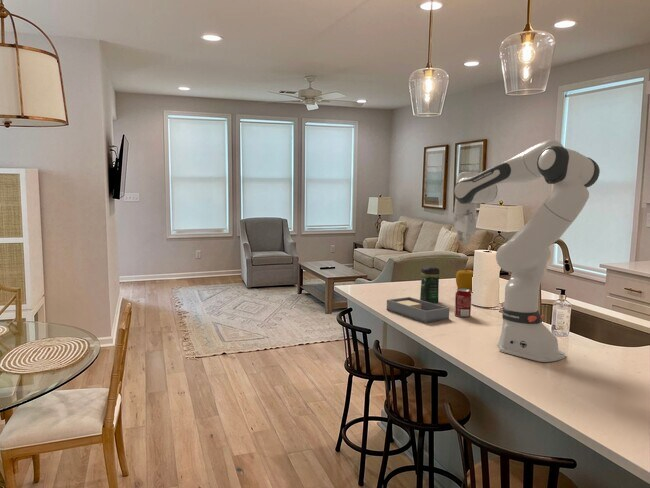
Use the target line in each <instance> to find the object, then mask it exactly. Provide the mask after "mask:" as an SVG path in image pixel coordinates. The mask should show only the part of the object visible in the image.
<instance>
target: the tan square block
mask: <svg viewBox="0 0 650 488" xmlns="http://www.w3.org/2000/svg"><path fill="white" fill-rule="evenodd" d="M398 303H401V304H405V305H408V306H411V307H415V308H418V309H421V304H420V303H416V302H413V301H409V300H406V301H399V302H398Z"/></svg>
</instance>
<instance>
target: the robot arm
mask: <svg viewBox="0 0 650 488" xmlns="http://www.w3.org/2000/svg"><path fill="white" fill-rule="evenodd" d="M600 171H601V169H600V166H599V165H598V163H597V162H596V161H595V160H594V159H592V158H591V157H588V156H585V155H584V154H581V153H580V152H579V151H576V150H573V149H570V148H566V147H564V145H563V144H562V143H561V142H559V140H555V139H548V140H545V141H541V142H538V143H537V144H535V145H532V146H531V147H530V146H529V147H528V148H527V149H525V150H524V151H522V152H520V153H518V154H516V155H514V156H512V157H511V158H509V159H507V160H505V161H503V162H501V163H499V164H497V165H495V166H491V167H490V168H487V169H486V170H484V171H481V172H479V173H478V172H477V171H476V170H467V171H466V170H465V171H462V172H460V173H459V174H458V176H457V179H456V183H455V185H454V187H453V188H454V189H453V195H454V198H455V202H454V207H453V208H452V213H453V229H454V230H455V231H456V232H457V241H458V242H463V244H465V245H469V244H470V240H471V237H472V235H474V234H475V233H476V230H477V229H476V223H477V222H476V219H477V218H476V216H475V215H477V206H478V204H489V203H492V202H493V201H494V200H495V199H496V198H497V195H498V187H497V185H500V184H509V183H511V184H512V183H513V184H514V183H517V184H518V183H519V184H520V183H528V182H531V181H534V180H537V179H539V178H541V177H543V178H544V181H545V182H546V184H548V185H553V186H552V187H553V188H552V191H551V192H550V194H549V196H547V198H546V199H545V200H544V201H543V203H542V204H541V205H540V207H539V208H538V209H537V211H536V212H535V213H534V215H532V217H531V218H530V219H529V221H527V223H526V224H524V225H523V226H522V227H521V228H520V229H519V230H518V231H517V232H516V233H515V234H513V235H512V236H511V238H510V239H508V240H507V241H506V242H505V243H503V244H501V245H500V246H499V247H498V249H497V250H496V252H495V260H496V264H497V265H498V267H500V268H501V269H502V270H504V271H505V272H510V273H511V275H510V277H509V279H508V281H507V283H506V284H505V288H504V302H503V303H504V305H503V307H502V316H501V318H502V327H501V332H500V336H499V339H498V342H497V347H498V348H499V351H500V352H501V353H505V354H509V355H513V356H517V357H520V358H525V359H528V360H532V361H535V362H539V363H540V362H541V363H550V362H557V361H560V360H563V359H565V357H566V353H565V352H564V351H561V350H559V343H558V341H559V340H558V338H557V336H556V335H554V333H552V331H551V330H549V328H547V326H546V325H545V324H544V323H543V321H542V319H545V314H541V313H540V311H539V310H538V308H539V307H538V306H539V296H540V293H539V292H540V286H541V282H542V278H543V275H544V272H545V269H546V266H547V264H548V262H549V261H550V260H551V259H550V258H551V249H550V246H551V245H553V244H554V243H555V242H557V241H558V240H560V238H561V237H562V236H563V235H564V233H565V232H566V231H567V230H568V229H569V228H570V226H571V225H572V224H573V223H574V221H575V220H576V219H577V217H578V216H579V215H580V213H582V210H583V208H584V207H585V206H586V203H587V202H588V200H589V198H590V192H589V190H588V188H590V187H592V186H593V185H594V184H595V183H596V182H597V181H598V179H599V176H600V173H601V172H600ZM463 235H464V236H465V237H463Z"/></svg>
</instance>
